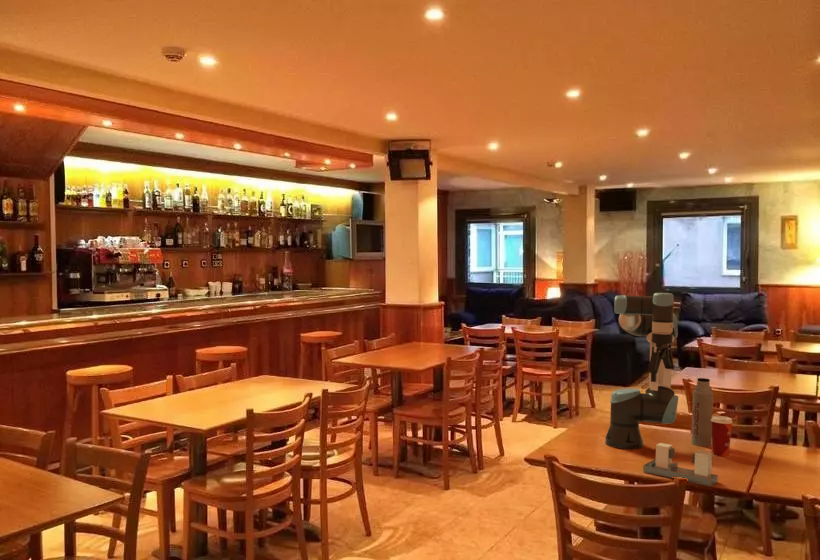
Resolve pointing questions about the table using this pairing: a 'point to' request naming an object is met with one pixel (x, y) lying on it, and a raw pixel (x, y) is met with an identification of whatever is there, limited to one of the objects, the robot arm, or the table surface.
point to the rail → (688, 470)
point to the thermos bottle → (702, 413)
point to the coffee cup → (721, 435)
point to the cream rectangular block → (664, 455)
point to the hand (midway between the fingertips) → (660, 387)
